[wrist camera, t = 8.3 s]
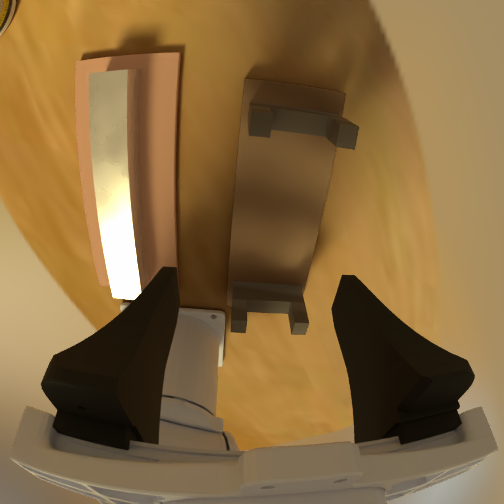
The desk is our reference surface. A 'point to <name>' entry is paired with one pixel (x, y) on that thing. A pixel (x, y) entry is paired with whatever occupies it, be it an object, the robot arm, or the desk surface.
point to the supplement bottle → (6, 13)
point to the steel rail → (119, 177)
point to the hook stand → (281, 195)
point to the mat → (151, 154)
